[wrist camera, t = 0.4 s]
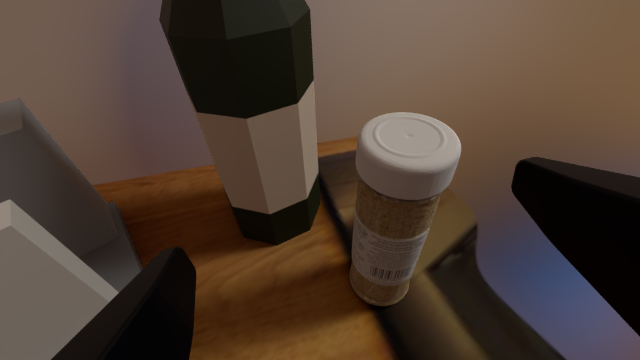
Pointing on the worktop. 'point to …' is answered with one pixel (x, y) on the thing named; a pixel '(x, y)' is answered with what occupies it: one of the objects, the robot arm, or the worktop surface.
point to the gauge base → (62, 197)
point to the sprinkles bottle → (397, 199)
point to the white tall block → (42, 289)
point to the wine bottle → (253, 105)
